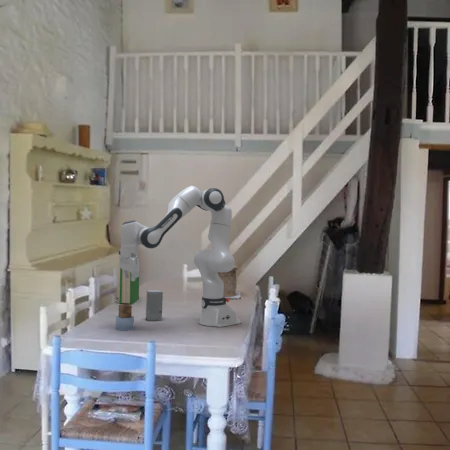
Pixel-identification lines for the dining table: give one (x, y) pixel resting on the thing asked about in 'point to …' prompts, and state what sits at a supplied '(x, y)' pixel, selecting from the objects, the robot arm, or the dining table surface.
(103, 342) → the dining table surface
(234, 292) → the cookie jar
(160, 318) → the skincare box
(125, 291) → the hardback book
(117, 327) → the canister
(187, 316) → the dining table surface
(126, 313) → the walnut block
